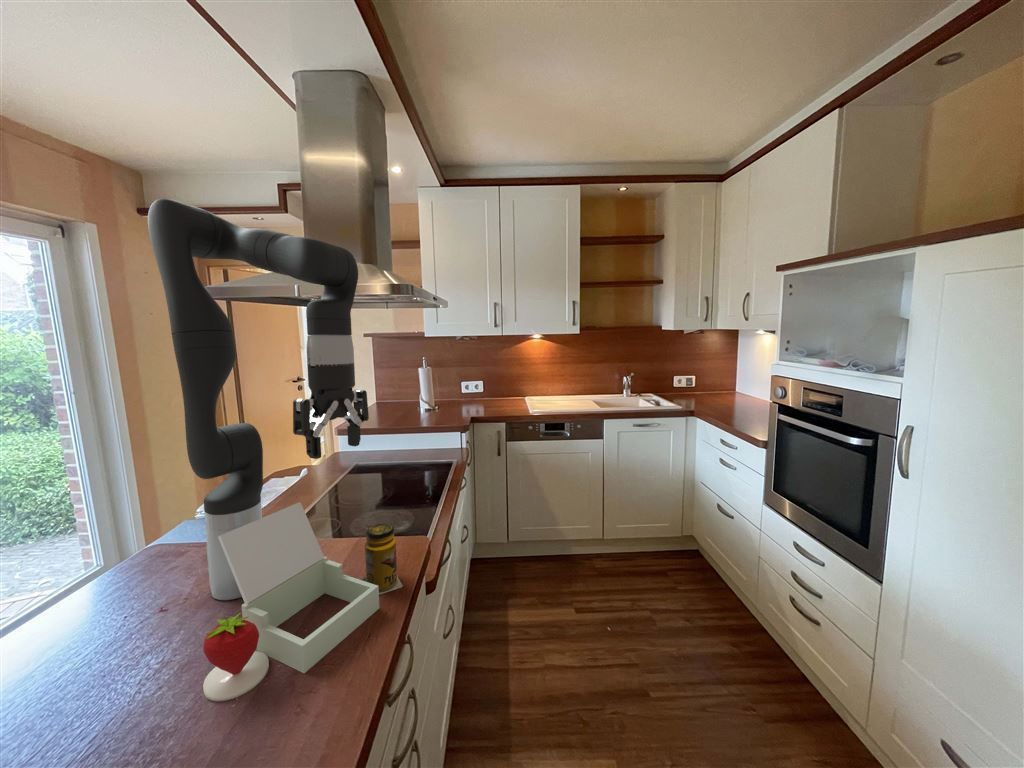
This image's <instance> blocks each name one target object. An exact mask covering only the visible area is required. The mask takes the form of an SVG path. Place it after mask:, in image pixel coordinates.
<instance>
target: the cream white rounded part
mask: <svg viewBox="0 0 1024 768" xmlns="http://www.w3.org/2000/svg"><path fill="white" fill-rule="evenodd" d="M269 667H270V663H269V656H267V655H266V654H264V653H262V652H259V651H257V650H255V652H254V654H253V655H252V657H251V658H250V660H249V661H248V663H247V664H246V665H245V666H244V668H243V669H242V671H241V672H240V673H238V674H236V675H233V674H230V673H229V672H227V671H224V670H221V669H219V668H218V667H216V666H214V668H213V669H212V670H210V672H209V673H208V674H207V675H206V676H205V679H204V680H203V686H202V688H203V694H204V696H205V698H206V699H207V700H210V701H211V702H226V701H229V700H232V699H236V698H239V697H241V696H242V695H245V694H247V693H248V692H249V691H251V690H252V689H254V688H256V686H257V685H259V684H260V683H261V682H262V681H263V680H264V679H265V677H266V675H267V674H268V672H269Z"/></svg>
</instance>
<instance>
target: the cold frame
mask: <svg viewBox="0 0 1024 768" xmlns="http://www.w3.org/2000/svg"><path fill="white" fill-rule="evenodd" d="M218 539H219V541H220V543H221V546H222V548H223V551H224V553H225V556H226V558H227V561H228V563H229V566H230V568H231V571H232V573H233V575H234V578H235V580H236V583H237V585H238V588H239V590H240V593H241V595H242V597H241V599H243V602H244V603H242V604H241V616H242V617H241V618H244V617H248V618H246V619H245V620H247V621H249V622H251V623H254V624H255V625H256V627H257V629H258V632H259V639H258V644H257V648H256V650H255V651H259V652H262V653H264V654H266V655H267V657H268V658H271V659H273V660H275V661H277V662H279V663H282V664H284V665H286V666H287V667H290V668H291V669H294V670H296V671H298V672H300V673H302V674H306V673H307V672H308V671H309V670H310V669H311V668H312V667H314V666H315V665H316V664H317V663H318V662H319V661H320V660H322V659H323V658H324V657H325V656H327V655H328V654H329V653H330V652H331V651H332V650H333V649H334V648H336V647H337V646H338V645H339V644H340V643H341V642H342V641H344V639H346V638H347V637H348V636H349V635H350V634H352V633H353V632H354V631H355V630H356V629H357V628H359V627H360V626H362V624H363V623H364V622H365V621H366V620H368V619H369V618H370V617H371V616H373V615H374V613H376V612H377V611H378V610H379V609H380V594H379V586H377V585H374V584H371V583H368V582H365V581H362V580H359V579H360V578H355V577H352V576H350V575H346V574H344V573H343V564H342V563H340V562H336V561H332V560H329V559H328V557H327V556H325V555H324V553H323V551H322V548H321V546H320V544H319V541H318V539H317V537H316V534H315V533H314V531H313V528H312V526H311V523H310V521H309V518H308V516H307V514H306V511H305V510H304V507H303V504H302V502H301V501H299V502H296V503H294V504H291V505H289V506H288V507H285V508H282V509H280V510H278V511H275V512H273V513H270V514H268V515H265V516H262V518H261V519H258V520H256V521H254V522H251V523H249V524H246V525H244V526H242V527H239V528H237V529H234V530H232V531H230V532H227V533H225V534H222V535H220V536H218ZM324 594H326V595H329V596H332V597H334V598H336V599H340V600H342V601H346V602H348V603H349V604H347V605H346V606H345V607H344V608H342V609H341V610H340V611H339V612H337V613H336V614H335V615H333V616H331V617H330V618H329V619H328V620H327V621H326V622H324V623H323V624H322V625H321V626H319V627H318V628H317V629H314V631H313V632H311V633H310V634H309V635H307V636H306V637H305V638H304V639H303V638H301V637H299V636H296V635H294V634H292V633H290V632H288V631H285V630H283V629H281V628H279V626H280V625H281V624H282V623H284V622H286V621H287V620H288V619H290V618H292V616H294V615H295V614H298V613H299V612H300V611H301V610H303V609H304V608H305V607H307V606H308V605H310V604H311V603H313V602H314V601H316V600H317V599H318V598H320V597H321V596H323V595H324Z"/></svg>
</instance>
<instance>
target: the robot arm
mask: <svg viewBox="0 0 1024 768" xmlns="http://www.w3.org/2000/svg"><path fill="white" fill-rule="evenodd" d="M147 229H148V235H149V240H150V244H151V247H152V250H153V253H154V258H155V261H156V264H157V268H158V271H159V273H160V277H161V281H162V286H163V290H164V295H165V300H166V307H167V311H168V318H169V324H170V331H171V333H170V334H171V339H172V344H173V351H174V355H175V361H176V365H177V369H178V373H179V374H178V375H179V379H180V381H179V382H180V387H181V392H182V393H181V394H182V399H183V400H182V401H183V411H184V425H185V426H184V427H185V441H186V451H187V457H188V461H189V463H190V467H191V469H192V471H193V473H194V474H195V475H196V476H197V477H199V479H202V480H211V479H214V478H218V477H222V476H225V475H228V476H227V477H226V478H225V479H224V480H223V481H222V482H220V484H219V485H217V486H216V487H214V488H213V489H212V490H210V491H208V492H207V493H206V495H205V496H204V498H203V510H204V521H205V532H206V533H205V534H206V545H205V546H206V547H205V548H206V557H207V569H208V581H209V588H210V589H209V590H210V593H211V596H212V598H213V599H216V600H218V601H231V600H235V599H240V598H242V595H241V593H240V590H239V588H238V585H237V583H236V580H235V578H234V575H233V573H232V571H231V568H230V566H229V563H228V561H227V558H226V556H225V553H224V551H223V548H222V546H221V543H220V541H219V539H218V536H220V535H222V534H225V533H227V532H230V531H232V530H234V529H237V528H239V527H242V526H244V525H246V524H249V523H251V522H254V521H256V520H258V519H261V518H263V512H262V511H263V510H262V491H263V488H264V470H263V469H264V450H263V449H264V448H263V441H262V438H261V435H260V433H259V431H258V430H257V428H256V426H254V425H253V424H251V423H248V422H240V423H234V424H233V423H232V424H228V425H223V426H217V417H216V412H217V403H218V400H219V396H220V393H221V392H222V389H223V387H224V385H225V384H226V381H227V379H228V378H229V376H230V374H231V372H232V370H233V368H234V365H235V362H236V359H237V358H236V357H237V352H236V344H235V337H234V333H233V327H232V324H231V322H230V320H229V318H228V316H227V314H226V313H225V312H224V310H223V309H222V307H221V306H220V305H219V303H218V302H217V301H216V300H215V299H214V297H213V296H212V295H211V294H210V292H209V291H208V290H207V289H206V287H205V286H204V284H203V283H202V281H201V280H200V279H201V278H200V277H199V275H198V272H197V270H196V266H195V262H194V259H193V258H197V259H203V260H209V259H210V260H234V261H241V262H244V263H246V264H248V265H251V266H253V267H256V268H258V269H261V270H264V271H268V272H271V273H276V274H280V275H283V276H288V277H291V278H293V279H295V280H299V281H302V282H305V283H310V284H313V285H317V286H318V285H319V286H323V290H322V295H321V297H320V299H319V298H318V299H314V300H311V301H309V302H308V303H307V305H306V309H305V310H306V311H305V313H306V316H305V317H306V331H307V333H306V334H307V336H306V363H307V367H306V368H307V369H306V370H307V382H308V383H307V384H308V385H307V386H308V388H309V390H310V392H311V394H310V397H309V398H294V399H293V401H292V414H293V415H292V433H293V434H294V435H295V436H296V435H297V436H301V437H302V436H303V437H304V438H305V449H306V450H305V452H306V455H307V456H308V457H309V459H313V460H318V459H321V458H322V444H321V443H322V441H321V436H320V435H321V432H322V431H323V429H324V427H325V426H327V425H328V423H329V421H333V420H335V419H338V418H340V419H343V420H344V421H345V423H347V426H346V427H347V428H346V429H347V430H346V431H347V445H348V446H349V447H350V446H351V447H358V446H359V445H360V442H361V426H362V424H363V423H364V422H368V421H369V418H370V417H369V416H370V415H369V404H368V393H367V391H366V390H365V389H364V390H362V389H353V388H354V387H355V386H356V371H355V368H356V367H355V349H354V347H355V346H354V343H353V336H352V335H353V334H352V318H351V317H352V316H351V315H352V314H351V313H352V307H353V304H354V301H355V300H354V299H355V296H356V291H357V287H358V286H357V285H358V280H359V269H358V263H357V261H356V259H355V257H354V255H353V254H352V252H350V251H349V250H348V249H346V248H344V247H342V246H338V245H335V244H331V243H328V242H326V241H322V240H318V239H314V238H309V237H305V236H294V235H291V234H289V233H285V232H284V233H283V232H280V231H274V230H270V229H265V228H257V227H256V228H254V227H252V228H246V227H243V226H240V225H237V224H234V223H233V222H230V221H229V220H226V219H225V218H222V217H220V216H218V215H216V214H215V213H212V212H211V211H209V210H206V209H203V208H200V207H197V206H194V205H192V204H188V203H185V202H181V201H178V200H175V199H171V198H170V199H169V198H165V197H164V198H163V197H161V198H158V199H156V200H154V201H153V202H152V204H151V205H150V206H149V209H148V214H147ZM318 417H319V418H318Z"/></svg>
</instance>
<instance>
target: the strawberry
mask: <svg viewBox="0 0 1024 768" xmlns="http://www.w3.org/2000/svg"><path fill="white" fill-rule="evenodd" d="M240 615H242V612H239V613H237V614H236V615H235V616H231V617H230V618H228V617H227V616H225V615H223V614H221V617H223V618H225V619H217V622H218V624H219V625H217V626H216V627H214V628H212V629H211V630H210V631H209V632H207V633H206V634H205V635H206V636H205V638H204V640H203V647H202V651H203V654H204V655H205V657H206V659H207V661H208V663H210V665H211V664H212V665H213V666H214V667H218V668H219V669H221V670H224V671H227V672H229V673H230V674H233V675H236V674H238V673H240V672H241V671H242V669H243V668H244V666H245V665H246V664H247V663H248V661H249V660H250V658H251V657H252V655H253V654H254V652H255V651H257V650H256V648H257V644H258V639H259V632H258V629H257V627H256V625H255V624H254V623H251V622H249V621H247V620H245V619H246V618H248V617H244V618H242V617H240ZM239 617H240V618H239Z"/></svg>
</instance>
